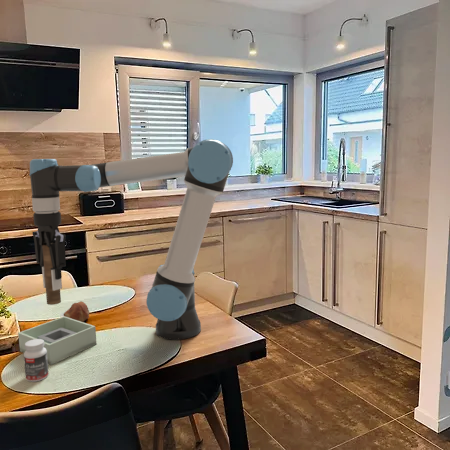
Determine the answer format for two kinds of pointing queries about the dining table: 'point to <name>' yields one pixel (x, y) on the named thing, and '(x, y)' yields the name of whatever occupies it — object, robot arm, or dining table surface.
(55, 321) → the bin
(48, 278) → the peg
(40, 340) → the pill bottle
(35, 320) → the dining table surface
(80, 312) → the fossil
